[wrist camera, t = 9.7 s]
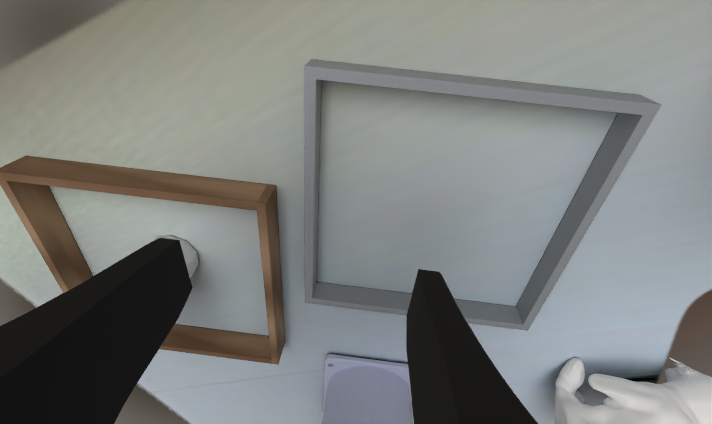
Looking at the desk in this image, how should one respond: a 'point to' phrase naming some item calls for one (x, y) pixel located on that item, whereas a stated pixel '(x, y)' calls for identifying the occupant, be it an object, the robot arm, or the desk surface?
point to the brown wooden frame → (59, 247)
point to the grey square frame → (608, 160)
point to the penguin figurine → (634, 398)
